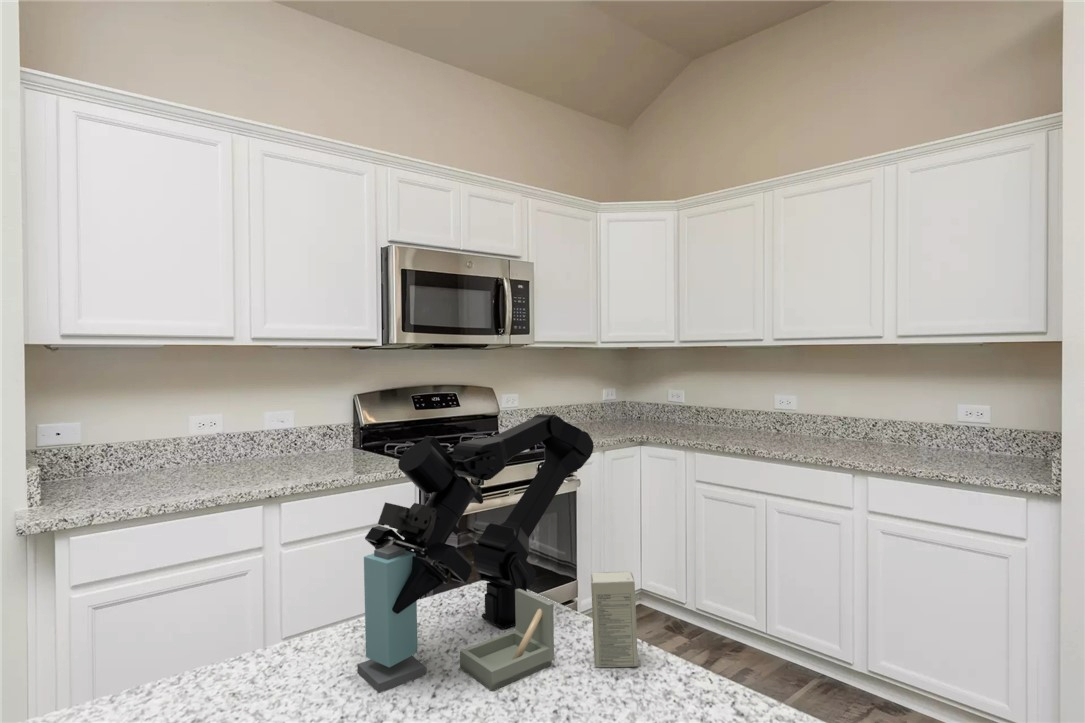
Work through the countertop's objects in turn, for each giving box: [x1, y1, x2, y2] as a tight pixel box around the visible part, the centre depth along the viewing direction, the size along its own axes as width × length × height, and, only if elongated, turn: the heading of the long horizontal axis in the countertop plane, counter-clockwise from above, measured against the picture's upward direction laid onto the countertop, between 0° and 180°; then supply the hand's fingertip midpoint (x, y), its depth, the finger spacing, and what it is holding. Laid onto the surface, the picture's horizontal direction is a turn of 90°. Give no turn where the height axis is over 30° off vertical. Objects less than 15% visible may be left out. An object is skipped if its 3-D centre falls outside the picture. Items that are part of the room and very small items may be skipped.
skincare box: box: [590, 570, 639, 668], centre depth 86 cm, size 6×4×12 cm
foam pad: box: [356, 655, 427, 694], centre depth 83 cm, size 7×7×1 cm
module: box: [363, 545, 419, 667], centre depth 83 cm, size 5×5×15 cm
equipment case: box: [459, 589, 555, 692], centre depth 85 cm, size 11×8×9 cm
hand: (382, 607), depth 82 cm, fingers closed on module, 5 cm apart
